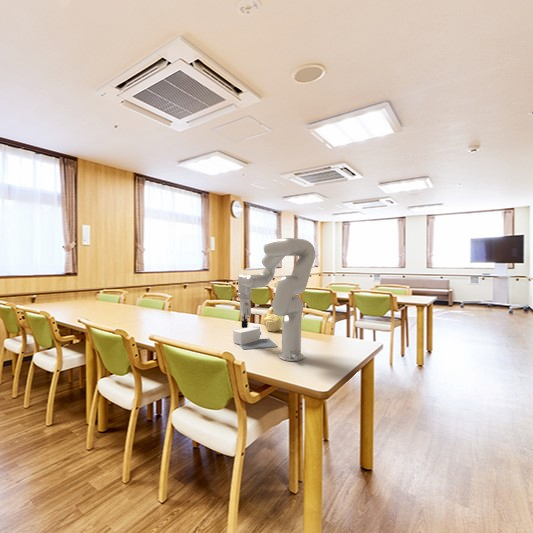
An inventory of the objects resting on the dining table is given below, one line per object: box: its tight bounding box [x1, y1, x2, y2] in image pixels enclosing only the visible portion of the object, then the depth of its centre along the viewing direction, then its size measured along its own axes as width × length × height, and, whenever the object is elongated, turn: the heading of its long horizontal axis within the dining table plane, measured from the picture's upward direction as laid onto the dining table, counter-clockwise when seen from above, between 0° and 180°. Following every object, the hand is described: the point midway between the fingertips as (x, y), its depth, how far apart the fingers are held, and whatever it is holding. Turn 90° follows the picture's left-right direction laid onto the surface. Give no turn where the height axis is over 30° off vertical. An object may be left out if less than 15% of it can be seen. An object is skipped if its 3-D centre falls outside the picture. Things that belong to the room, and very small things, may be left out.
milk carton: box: [232, 326, 262, 346], centre depth 184 cm, size 7×7×19 cm
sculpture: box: [263, 315, 282, 333], centre depth 213 cm, size 11×12×11 cm
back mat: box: [239, 337, 278, 350], centre depth 179 cm, size 18×20×1 cm
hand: (244, 327), depth 176 cm, fingers closed
